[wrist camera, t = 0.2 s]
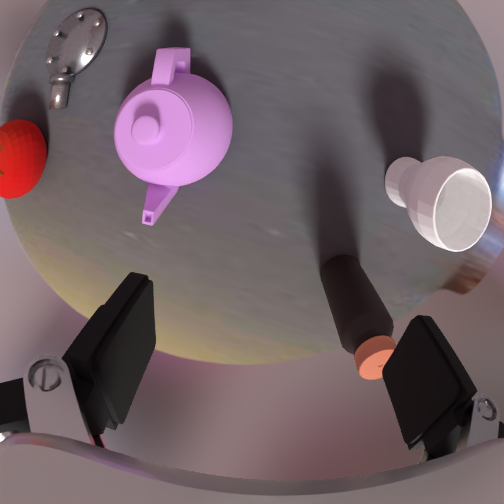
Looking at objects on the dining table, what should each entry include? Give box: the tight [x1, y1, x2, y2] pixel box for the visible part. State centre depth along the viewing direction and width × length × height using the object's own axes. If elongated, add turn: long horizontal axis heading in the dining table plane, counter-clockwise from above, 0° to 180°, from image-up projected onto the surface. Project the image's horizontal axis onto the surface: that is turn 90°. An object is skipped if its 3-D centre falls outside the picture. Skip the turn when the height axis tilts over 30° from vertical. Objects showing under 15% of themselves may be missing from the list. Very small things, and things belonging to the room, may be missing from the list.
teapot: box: [114, 47, 233, 226], centre depth 29 cm, size 22×16×12 cm
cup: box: [385, 156, 492, 252], centre depth 29 cm, size 11×11×15 cm
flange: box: [46, 9, 107, 109], centre depth 27 cm, size 18×13×4 cm
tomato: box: [0, 120, 47, 199], centre depth 30 cm, size 13×14×12 cm
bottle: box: [321, 255, 397, 380], centre depth 34 cm, size 7×7×20 cm
